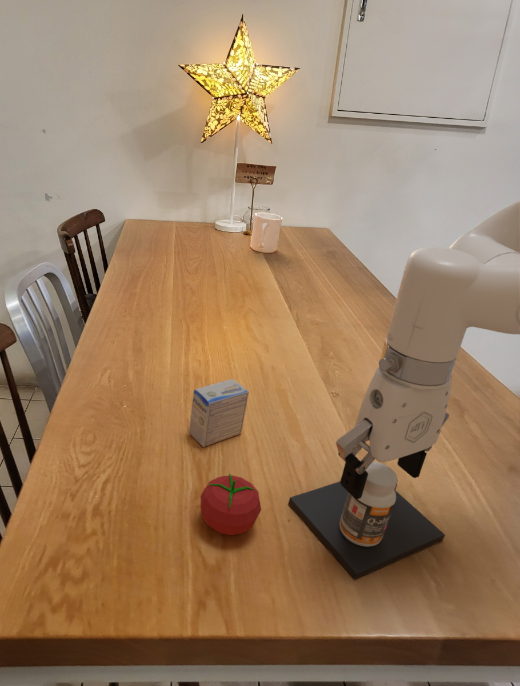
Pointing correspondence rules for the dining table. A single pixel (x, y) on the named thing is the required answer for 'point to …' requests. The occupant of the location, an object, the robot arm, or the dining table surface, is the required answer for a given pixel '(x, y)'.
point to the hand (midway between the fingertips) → (379, 480)
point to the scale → (397, 543)
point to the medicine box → (218, 412)
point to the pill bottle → (370, 507)
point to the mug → (265, 232)
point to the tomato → (230, 505)
